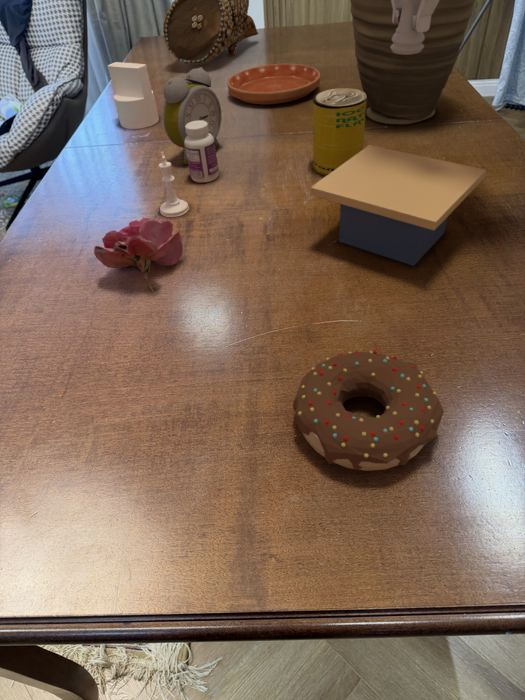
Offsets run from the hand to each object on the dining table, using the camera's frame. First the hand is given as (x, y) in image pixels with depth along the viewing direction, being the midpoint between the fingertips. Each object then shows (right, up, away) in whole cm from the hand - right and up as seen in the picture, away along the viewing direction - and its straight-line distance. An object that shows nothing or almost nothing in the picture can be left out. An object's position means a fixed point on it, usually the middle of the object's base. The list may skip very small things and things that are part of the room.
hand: (409, 27), depth 66 cm
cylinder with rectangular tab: (-48, +11, +52) cm, 72 cm away
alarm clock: (-33, -3, +36) cm, 49 cm away
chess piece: (-34, -19, +20) cm, 44 cm away
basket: (-33, +49, +89) cm, 107 cm away
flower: (-37, -31, +7) cm, 49 cm away
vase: (+10, +9, +44) cm, 46 cm away
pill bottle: (-30, -10, +28) cm, 42 cm away
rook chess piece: (0, -2, +2) cm, 3 cm away
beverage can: (-5, -8, +27) cm, 29 cm away
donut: (-9, -50, -15) cm, 53 cm away
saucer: (-16, +22, +60) cm, 66 cm away
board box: (0, -26, +8) cm, 27 cm away
